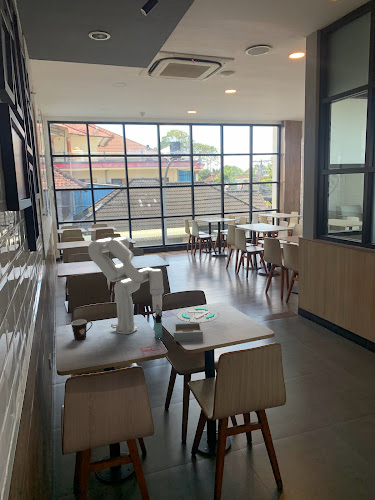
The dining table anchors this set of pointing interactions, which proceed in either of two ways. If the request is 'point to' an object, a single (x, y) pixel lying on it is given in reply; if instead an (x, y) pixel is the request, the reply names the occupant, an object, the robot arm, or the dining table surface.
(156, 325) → the peg
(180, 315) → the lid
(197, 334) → the bore box
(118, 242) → the robot arm
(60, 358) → the dining table surface
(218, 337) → the dining table surface
